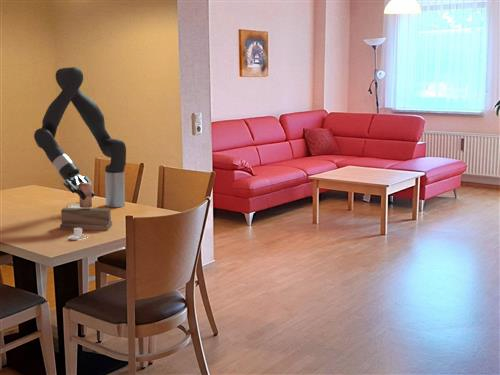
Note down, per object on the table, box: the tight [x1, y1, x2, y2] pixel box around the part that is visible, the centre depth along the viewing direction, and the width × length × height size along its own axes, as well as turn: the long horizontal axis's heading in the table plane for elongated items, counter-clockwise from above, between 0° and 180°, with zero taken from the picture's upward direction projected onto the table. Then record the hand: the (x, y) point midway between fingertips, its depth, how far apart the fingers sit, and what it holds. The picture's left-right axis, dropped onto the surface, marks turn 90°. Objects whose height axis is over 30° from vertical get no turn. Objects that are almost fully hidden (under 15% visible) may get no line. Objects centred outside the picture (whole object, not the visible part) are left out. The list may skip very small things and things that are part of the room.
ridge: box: [59, 207, 113, 231], centre depth 264 cm, size 9×20×8 cm, turn 91°
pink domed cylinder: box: [78, 182, 93, 208], centre depth 262 cm, size 5×5×10 cm
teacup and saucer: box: [67, 228, 89, 241], centre depth 249 cm, size 9×8×4 cm
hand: (89, 197), depth 262 cm, fingers closed on pink domed cylinder, 5 cm apart
